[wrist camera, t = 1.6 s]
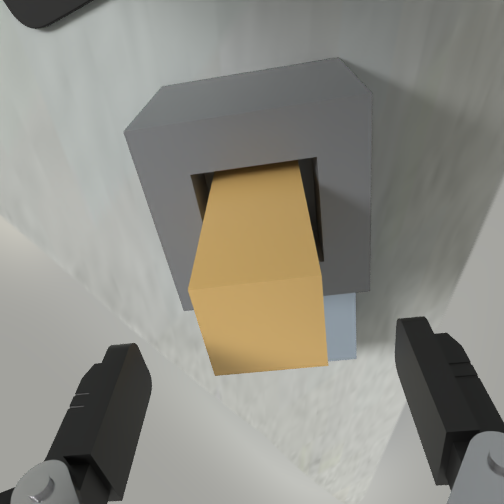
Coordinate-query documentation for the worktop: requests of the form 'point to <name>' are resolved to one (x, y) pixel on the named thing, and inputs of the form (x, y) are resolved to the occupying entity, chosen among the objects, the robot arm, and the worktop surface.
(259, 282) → the plug
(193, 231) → the socket block
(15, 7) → the phone
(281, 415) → the worktop surface
